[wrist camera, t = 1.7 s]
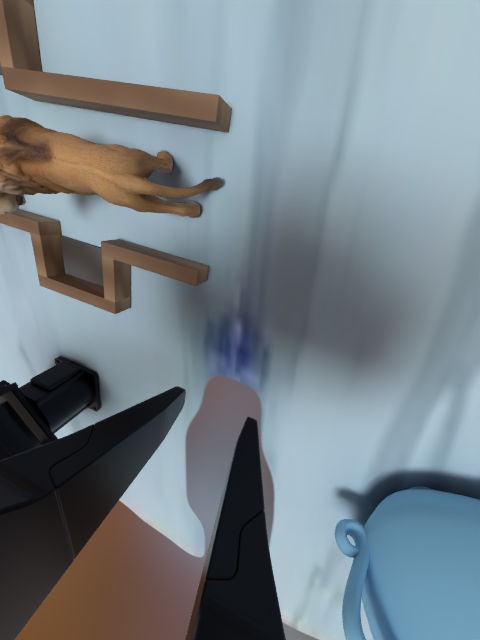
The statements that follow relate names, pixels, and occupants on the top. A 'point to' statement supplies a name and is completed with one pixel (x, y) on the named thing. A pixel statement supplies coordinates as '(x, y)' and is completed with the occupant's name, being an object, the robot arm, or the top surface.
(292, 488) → the top surface
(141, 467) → the robot arm
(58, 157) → the lion figurine
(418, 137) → the top surface
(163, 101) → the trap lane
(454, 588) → the decorative pot
